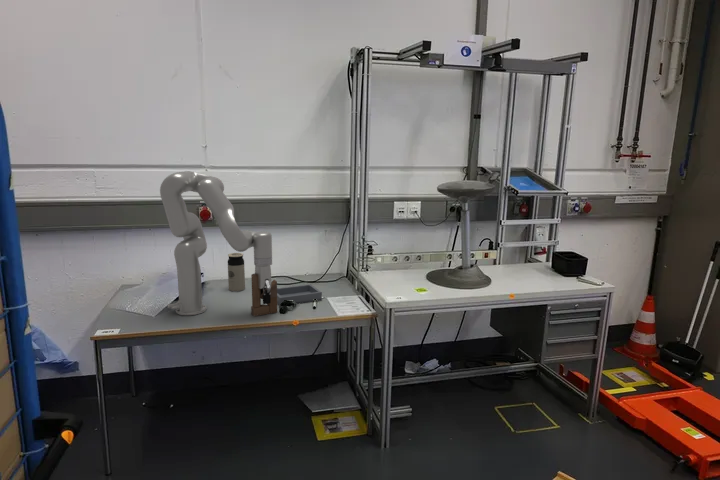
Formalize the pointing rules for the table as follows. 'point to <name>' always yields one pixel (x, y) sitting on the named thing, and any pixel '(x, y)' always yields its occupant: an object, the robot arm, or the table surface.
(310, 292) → the tray
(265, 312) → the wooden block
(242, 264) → the travel mug
